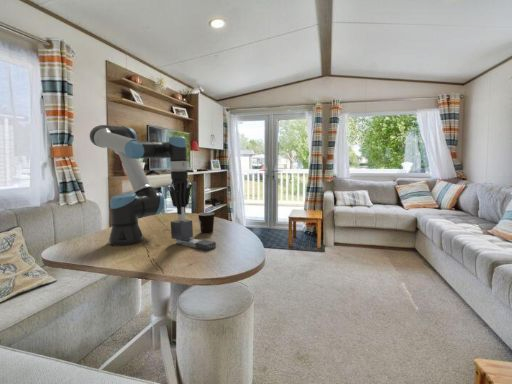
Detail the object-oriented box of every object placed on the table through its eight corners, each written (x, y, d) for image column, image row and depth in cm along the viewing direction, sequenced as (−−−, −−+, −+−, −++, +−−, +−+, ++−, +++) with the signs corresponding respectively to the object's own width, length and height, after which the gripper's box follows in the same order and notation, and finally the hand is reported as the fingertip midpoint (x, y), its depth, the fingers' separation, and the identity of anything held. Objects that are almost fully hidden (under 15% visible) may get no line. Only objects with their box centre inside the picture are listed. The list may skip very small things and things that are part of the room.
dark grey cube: (171, 238, 136) (170, 221, 135) (183, 234, 142) (182, 218, 141) (181, 240, 132) (180, 223, 131) (192, 236, 138) (192, 220, 137)
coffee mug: (213, 233, 152) (212, 215, 151) (197, 234, 152) (196, 215, 151) (217, 228, 164) (216, 211, 163) (202, 228, 164) (201, 211, 163)
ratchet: (173, 243, 137) (173, 232, 136) (183, 240, 142) (182, 229, 141) (206, 250, 124) (206, 238, 124) (216, 247, 129) (215, 235, 129)
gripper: (173, 171, 126) (176, 224, 129) (195, 170, 136) (197, 218, 139) (162, 171, 130) (165, 222, 133) (184, 169, 141) (186, 217, 144)
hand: (181, 220), depth 136 cm, fingers closed
